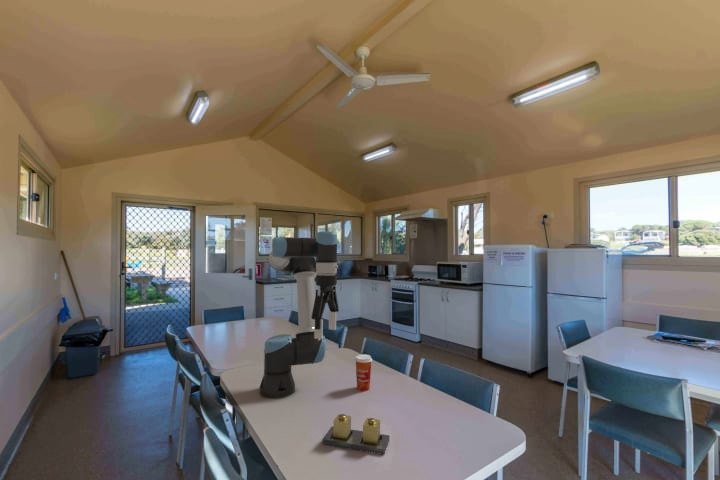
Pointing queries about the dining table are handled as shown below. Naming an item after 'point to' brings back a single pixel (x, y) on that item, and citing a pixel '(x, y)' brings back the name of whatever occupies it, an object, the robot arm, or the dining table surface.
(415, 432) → the dining table surface
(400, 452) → the dining table surface
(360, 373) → the paper cup
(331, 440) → the holder with square slots
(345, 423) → the yellow square bottle
